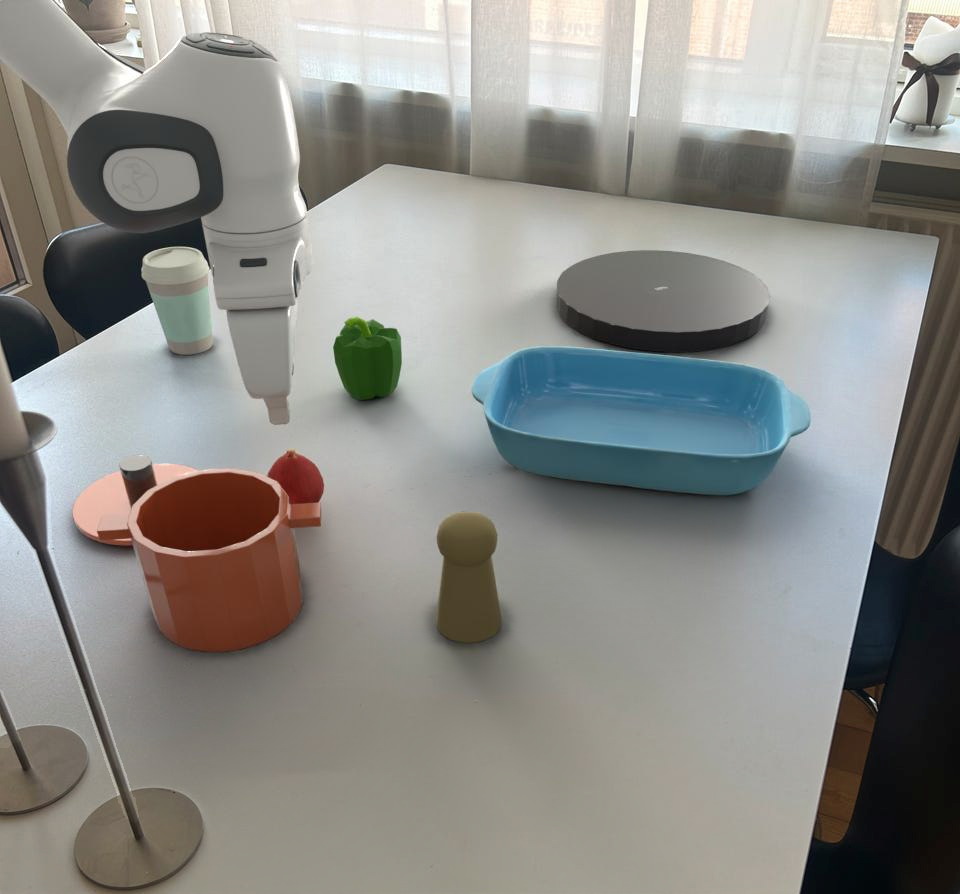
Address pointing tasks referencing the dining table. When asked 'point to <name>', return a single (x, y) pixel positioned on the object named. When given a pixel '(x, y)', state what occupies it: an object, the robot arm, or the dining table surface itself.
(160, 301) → the coffee cup
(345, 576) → the dining table surface
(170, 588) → the pot
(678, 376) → the casserole dish
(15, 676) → the dining table surface
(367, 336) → the bell pepper
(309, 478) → the onion
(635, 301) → the disc
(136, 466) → the pot lid
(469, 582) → the olive pawn piece
